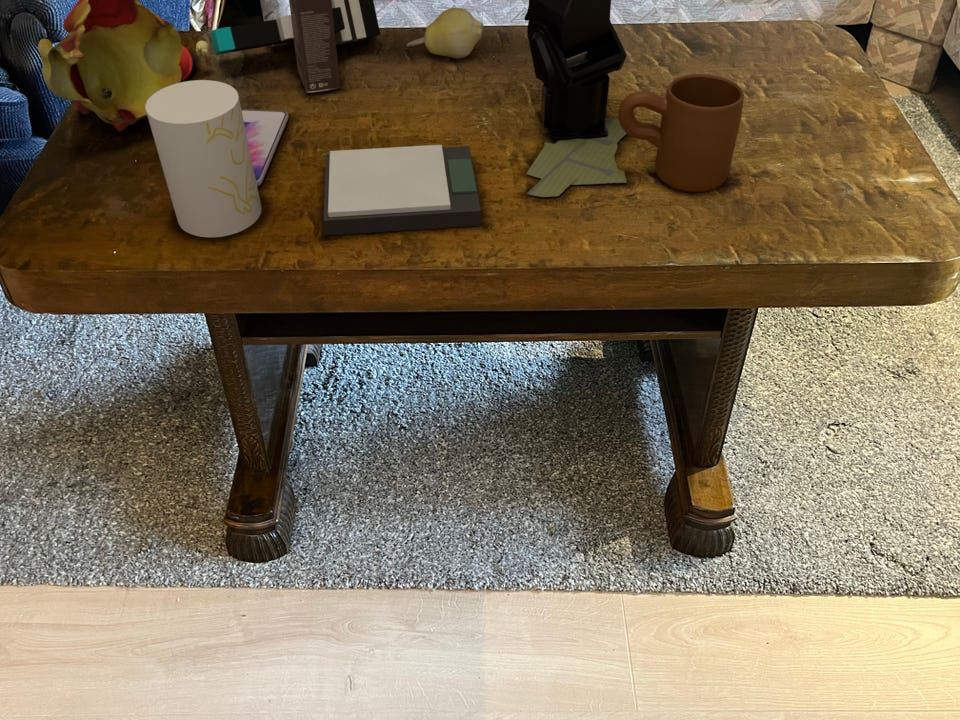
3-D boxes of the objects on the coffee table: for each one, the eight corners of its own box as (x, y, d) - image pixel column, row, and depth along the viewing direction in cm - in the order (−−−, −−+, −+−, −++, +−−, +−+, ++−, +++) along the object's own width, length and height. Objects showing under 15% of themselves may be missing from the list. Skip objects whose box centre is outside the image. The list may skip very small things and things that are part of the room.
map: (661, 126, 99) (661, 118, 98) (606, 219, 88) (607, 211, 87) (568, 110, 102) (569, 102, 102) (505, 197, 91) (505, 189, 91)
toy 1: (221, 65, 103) (131, 14, 105) (174, -14, 89) (71, -71, 90) (146, 168, 101) (56, 114, 103) (85, 105, 86) (-19, 43, 88)
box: (343, 88, 106) (331, -13, 98) (305, 94, 105) (290, -8, 97) (333, 67, 110) (321, -33, 102) (297, 72, 109) (281, -28, 101)
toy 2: (205, 25, 111) (356, 1, 117) (215, 66, 113) (365, 40, 119) (213, 15, 102) (377, -11, 108) (225, 60, 104) (385, 32, 110)
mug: (613, 193, 90) (623, 108, 84) (609, 154, 96) (618, 71, 89) (733, 195, 90) (752, 110, 83) (721, 156, 95) (739, 73, 89)
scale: (469, 160, 95) (469, 140, 93) (481, 225, 86) (481, 204, 84) (327, 169, 94) (325, 149, 92) (325, 235, 85) (322, 214, 83)
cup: (242, 241, 84) (216, 127, 76) (163, 231, 86) (128, 118, 77) (273, 195, 90) (252, 84, 82) (198, 186, 91) (170, 76, 83)
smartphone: (289, 110, 101) (259, 182, 90) (290, 117, 102) (260, 189, 91) (226, 108, 101) (188, 179, 90) (227, 114, 102) (190, 186, 91)
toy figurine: (151, 85, 110) (141, 85, 103) (143, 47, 109) (132, 45, 102) (216, 78, 112) (211, 78, 104) (210, 41, 110) (204, 38, 103)
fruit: (408, 43, 116) (484, 30, 115) (411, 75, 113) (489, 62, 112) (399, 6, 111) (478, -7, 110) (402, 39, 108) (483, 26, 107)
